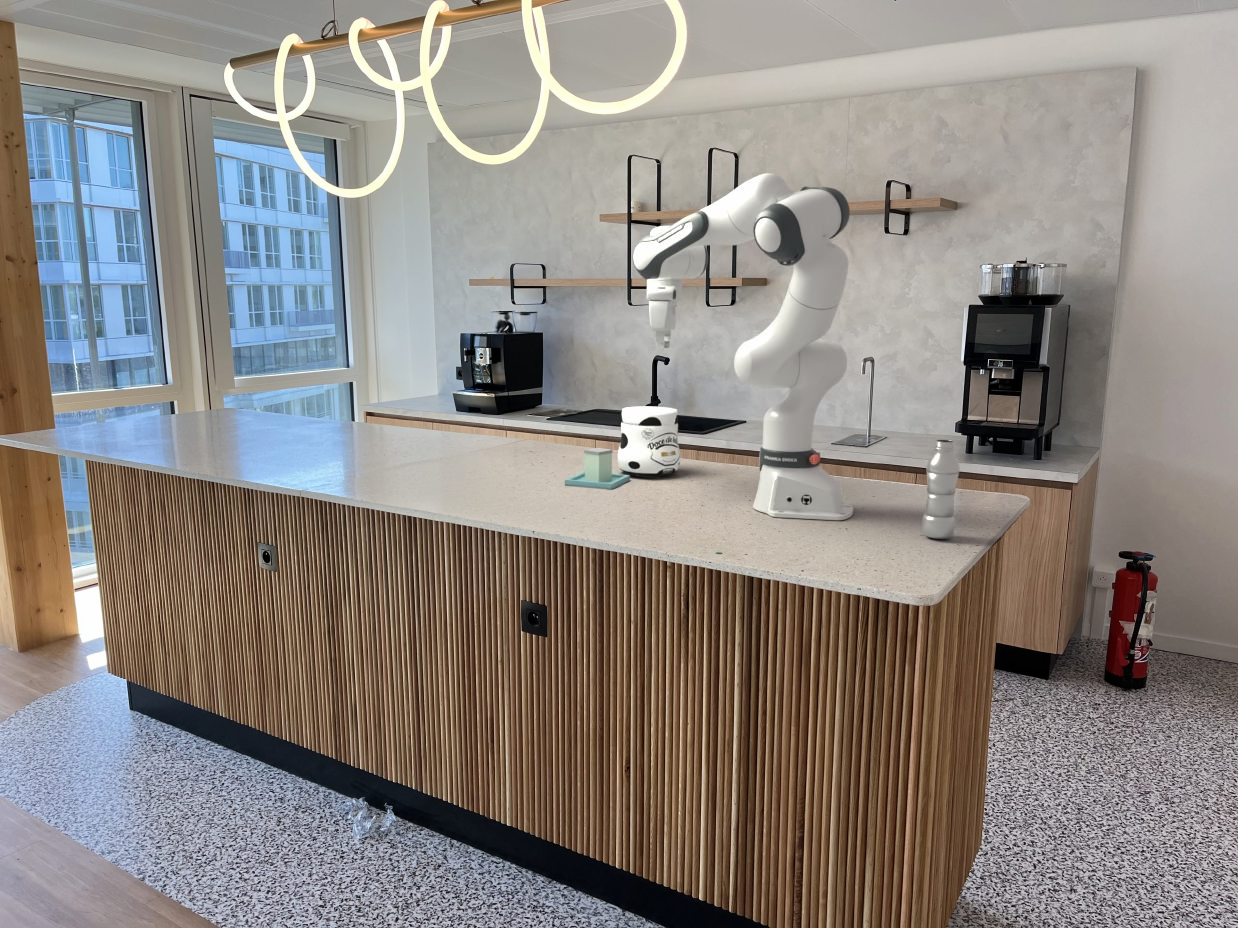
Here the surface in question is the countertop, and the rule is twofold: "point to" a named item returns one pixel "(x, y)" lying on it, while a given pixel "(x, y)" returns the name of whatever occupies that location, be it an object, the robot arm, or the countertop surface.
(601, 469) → the tea tin
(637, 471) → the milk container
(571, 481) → the tray
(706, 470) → the countertop surface
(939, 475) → the plastic bottle
